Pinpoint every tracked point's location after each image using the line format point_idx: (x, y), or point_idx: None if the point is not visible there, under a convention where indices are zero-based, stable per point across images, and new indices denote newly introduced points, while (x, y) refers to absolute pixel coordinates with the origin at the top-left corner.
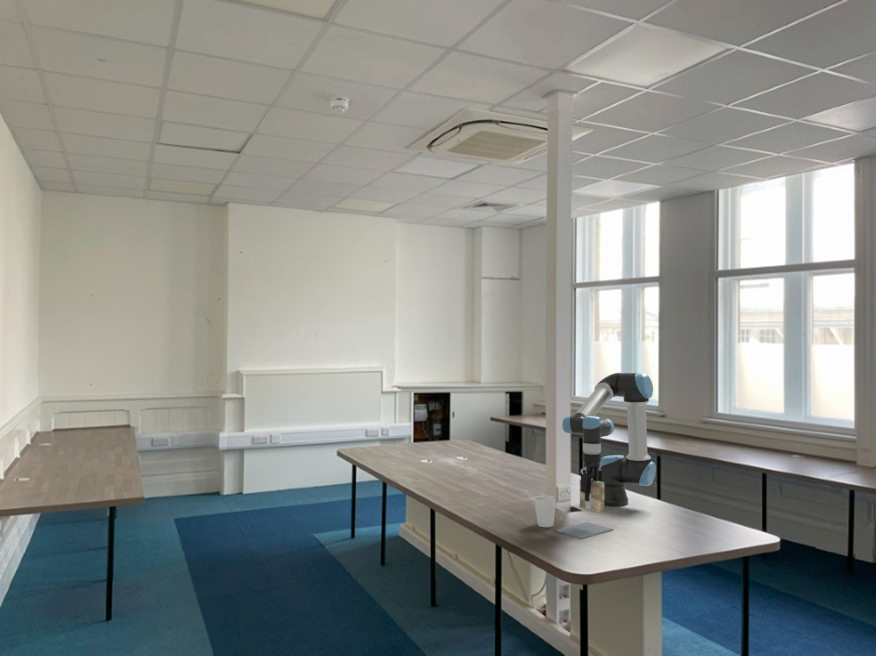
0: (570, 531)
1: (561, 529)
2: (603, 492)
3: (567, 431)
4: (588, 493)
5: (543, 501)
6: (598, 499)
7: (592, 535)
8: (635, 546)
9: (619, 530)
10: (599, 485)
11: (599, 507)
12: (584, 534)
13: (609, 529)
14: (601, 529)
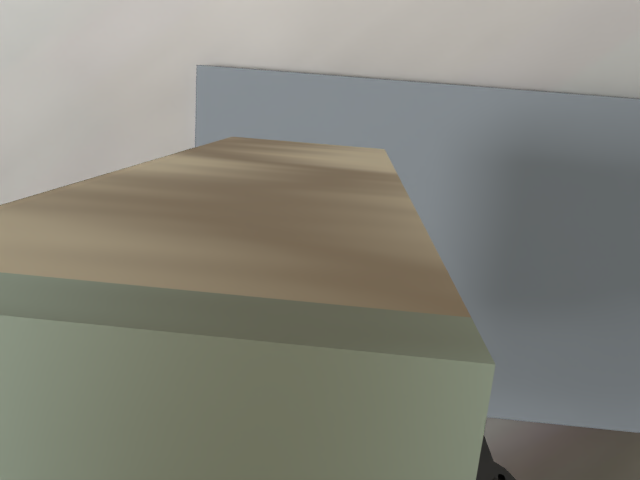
0: (598, 309)
1: (598, 403)
2: (136, 182)
3: None
4: (496, 465)
5: None
6: (391, 174)
7: (539, 92)
8: None
9: (150, 18)
10: (331, 286)
11: (354, 152)
12: (600, 151)
13: (245, 79)
14: (308, 139)
